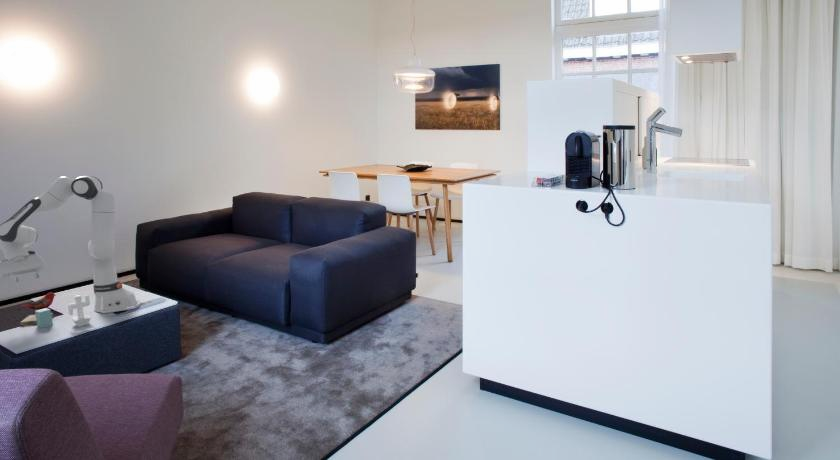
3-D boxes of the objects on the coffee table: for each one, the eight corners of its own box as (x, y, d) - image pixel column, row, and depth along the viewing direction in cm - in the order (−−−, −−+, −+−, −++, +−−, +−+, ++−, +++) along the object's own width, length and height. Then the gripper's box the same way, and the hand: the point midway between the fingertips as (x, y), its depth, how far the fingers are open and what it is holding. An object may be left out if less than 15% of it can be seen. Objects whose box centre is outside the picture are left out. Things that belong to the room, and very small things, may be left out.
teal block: (48, 323, 284) (46, 307, 283) (52, 324, 281) (50, 309, 280) (37, 326, 280) (34, 310, 279) (41, 327, 277) (39, 312, 276)
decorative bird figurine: (59, 309, 306) (56, 291, 304) (20, 317, 294) (17, 299, 292) (57, 308, 308) (55, 290, 306) (19, 316, 296) (15, 298, 294)
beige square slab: (53, 316, 294) (53, 312, 294) (45, 323, 284) (45, 319, 283) (30, 318, 292) (29, 315, 291) (20, 325, 281) (20, 322, 281)
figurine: (69, 325, 279) (64, 296, 277) (90, 320, 286) (86, 292, 283) (72, 328, 274) (68, 299, 272) (94, 323, 281) (90, 294, 278)
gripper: (-7, 258, 278) (4, 280, 274) (40, 250, 294) (51, 271, 290) (-9, 266, 281) (2, 287, 277) (38, 257, 297) (48, 278, 293)
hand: (27, 279), depth 284 cm, fingers open, 8 cm apart
